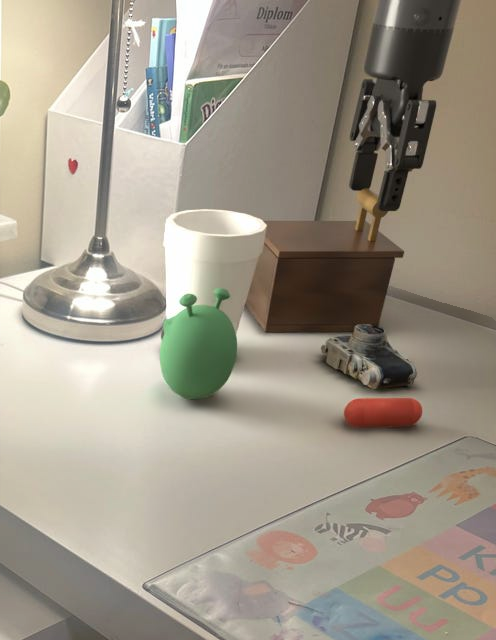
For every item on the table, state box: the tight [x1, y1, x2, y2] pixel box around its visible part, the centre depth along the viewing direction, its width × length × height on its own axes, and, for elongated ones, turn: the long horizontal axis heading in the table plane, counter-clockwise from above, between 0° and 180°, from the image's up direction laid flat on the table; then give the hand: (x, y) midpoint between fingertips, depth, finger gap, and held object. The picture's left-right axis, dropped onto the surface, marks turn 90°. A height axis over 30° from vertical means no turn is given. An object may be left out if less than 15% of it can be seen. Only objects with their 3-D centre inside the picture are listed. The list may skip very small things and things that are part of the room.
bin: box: [245, 243, 396, 333], centre depth 109 cm, size 13×12×8 cm
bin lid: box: [262, 188, 405, 259], centre depth 105 cm, size 13×12×5 cm
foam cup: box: [163, 208, 267, 334], centre depth 97 cm, size 10×9×13 cm
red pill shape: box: [343, 397, 423, 428], centre depth 87 cm, size 7×2×2 cm, turn 94°
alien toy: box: [159, 288, 238, 400], centre depth 90 cm, size 7×8×10 cm
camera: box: [320, 324, 418, 390], centre depth 97 cm, size 5×10×4 cm, turn 17°
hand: (372, 199), depth 104 cm, fingers open, 8 cm apart
